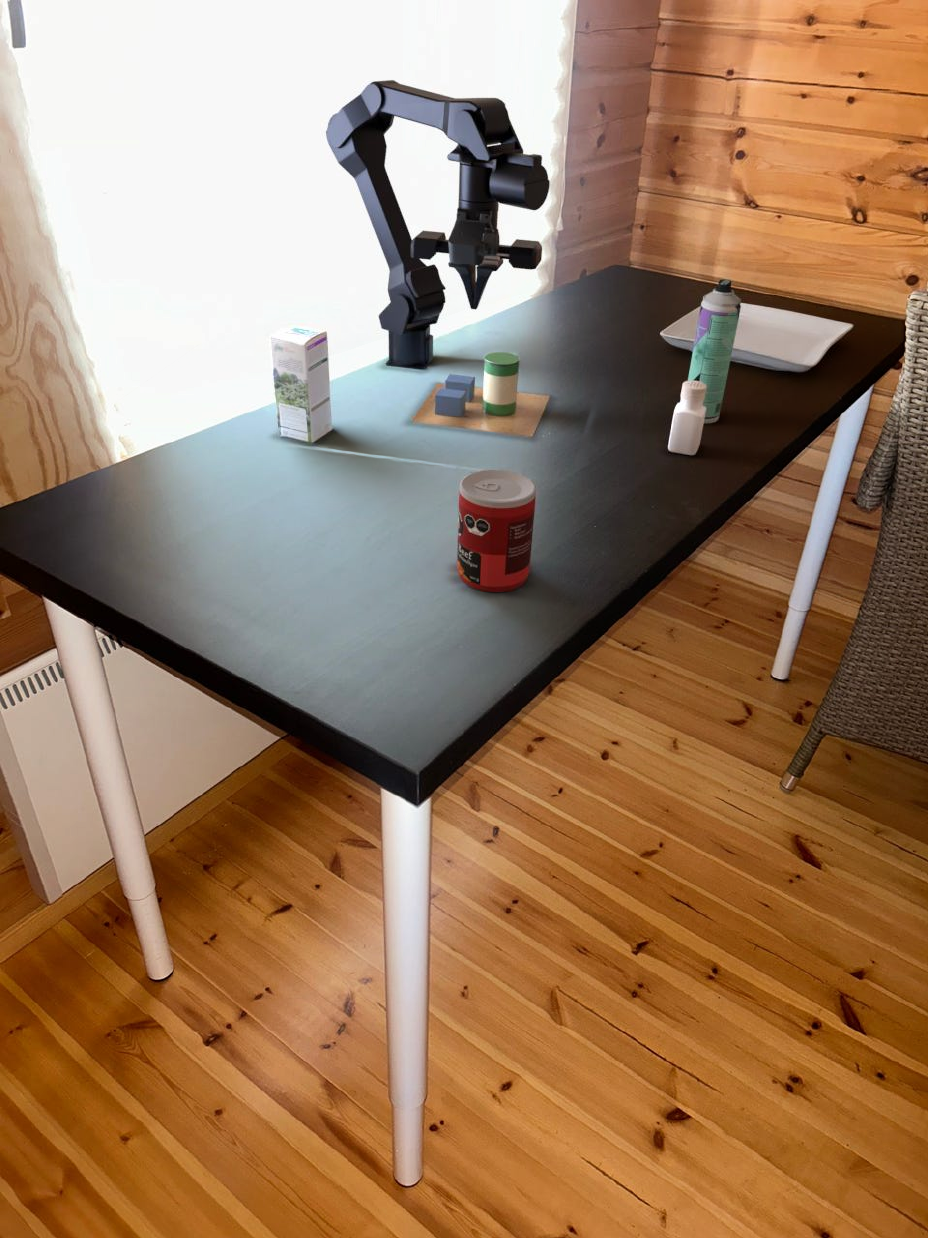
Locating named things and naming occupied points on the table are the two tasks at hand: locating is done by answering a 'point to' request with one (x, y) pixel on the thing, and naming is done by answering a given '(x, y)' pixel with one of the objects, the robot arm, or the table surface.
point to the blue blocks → (454, 395)
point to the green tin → (500, 384)
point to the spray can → (715, 345)
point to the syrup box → (301, 382)
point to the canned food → (495, 529)
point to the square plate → (769, 337)
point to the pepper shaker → (688, 419)
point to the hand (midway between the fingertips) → (474, 308)
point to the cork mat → (476, 419)
